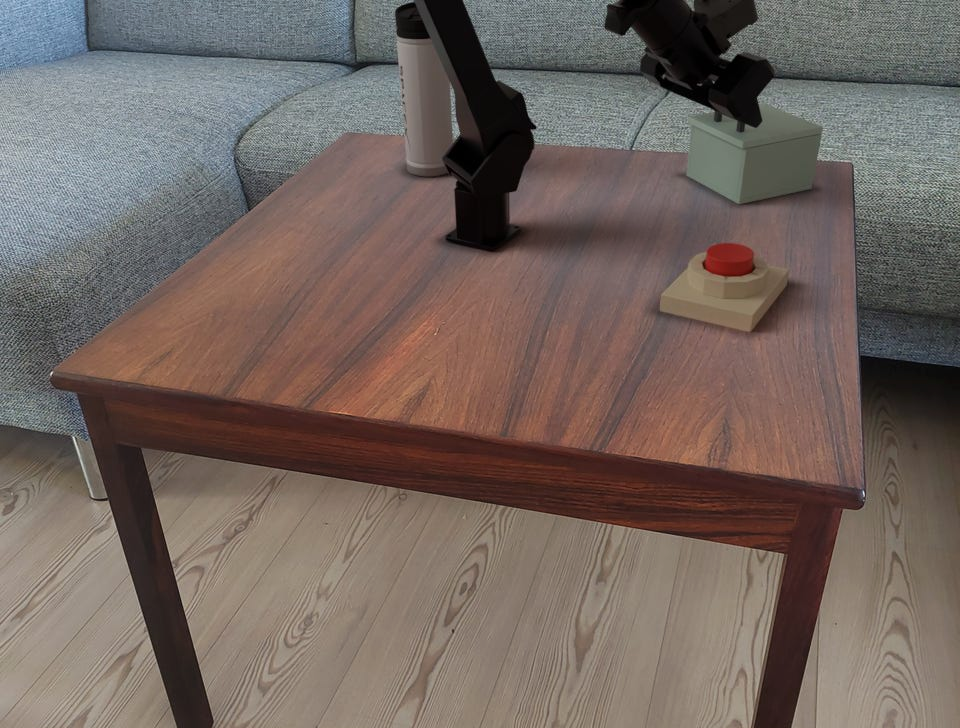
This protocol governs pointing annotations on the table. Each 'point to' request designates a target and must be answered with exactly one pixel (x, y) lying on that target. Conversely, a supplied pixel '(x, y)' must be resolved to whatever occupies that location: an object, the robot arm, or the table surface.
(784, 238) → the table surface
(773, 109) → the lid
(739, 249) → the power button
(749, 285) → the control block
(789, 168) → the green lidded box
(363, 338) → the table surface
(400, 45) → the travel mug
